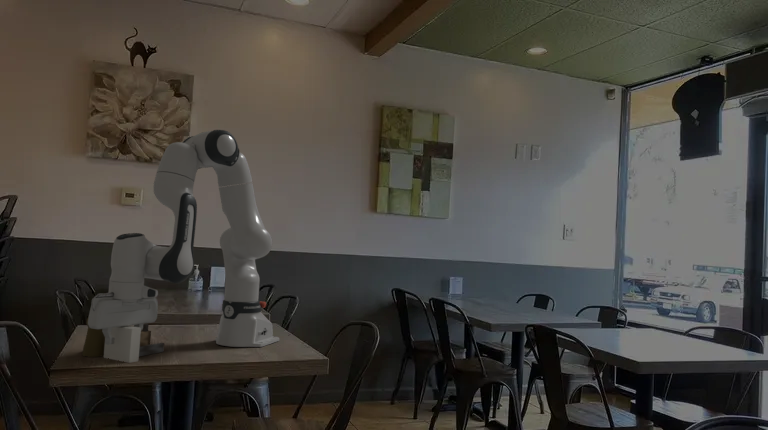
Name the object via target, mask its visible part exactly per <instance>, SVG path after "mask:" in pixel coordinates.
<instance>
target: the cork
mask: <svg viewBox="0 0 768 430" xmlns="http://www.w3.org/2000/svg"><path fill="white" fill-rule="evenodd" d="M88 318H89V316H88V317H87V318H86V322H85V323H86V326H87V331H86V335H85V340H84V345H83V350H82V354H81V355H82V357H85V356H88V357H87V358H98V357H104V346H105V336H104V334H103V332H102V329H92V328H90V327H89V326H88Z"/></svg>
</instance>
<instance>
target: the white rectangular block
mask: <svg viewBox="0 0 768 430" xmlns="http://www.w3.org/2000/svg"><path fill="white" fill-rule="evenodd" d="M110 333H111V336H112V337H114V338H115V340H114V344H110V345H107V344H105V346H104V356H103V359H108V358H109V360H113V361H118V360H119V362H123V361H124V363H128V364H129V363H134V362H136V363H137V362H139V360H140V358H139V357H140V356H139V347H140V334H141V328H139V327H134V326H133V325H129V326H121V327H113V328H112V332H110ZM105 339H106V337H105Z"/></svg>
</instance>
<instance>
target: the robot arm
mask: <svg viewBox="0 0 768 430" xmlns="http://www.w3.org/2000/svg"><path fill="white" fill-rule="evenodd" d="M204 168H205V169H206V168H212V169H213V170H214V171H215V174H216V176H217V184H218V185H217V186H218V191H219V198H220V204H221V208H222V212H223V214H224V215H225V217H226V219H227V221H228V223H229V226H230V227H229V228H227V229H226V230H224V231H223V233H222V234H221V236H220V237H219V238H220V239H219V246H220V249H221V250H222V251H221V252H222V255H223V265H224V271H225V273H224V274H225V282H224V284H225V285H224V298H223V300H222V304H221V306H222V307H221V308H222V309H221V310H222V314H221V316H220V318H219V319H220V320H219V324H218V325H219V326H218V331H217V336H216V337H215V339H214V340H215V343H216V344H217V345H220V346H223V347H224V346H225V347H231V348H232V347H234V348H247V347H248V348H250V347H251V348H253V347H254V348H256V347H257V348H262V347H265V346H268V345H270V344H273V343H277V342H279V341H280V337H278V336H274V333H273V332H274V330H273V327H274V326H273V323H272V322H271V321H270V320H269V319H268V318H267V317H266V316H265V315H264V314H263V313H262V308H263V309H264V308H266V307H267V302H266V301H260V300H259V298H260V297H259V294H260V282H261V281H260V279H261V278H260V275H259V273H258V271H257V265H256V264H257V263H256V260H259V259H261V258H264V257H266V256H267V255H268V254H269V253H270V251H271V250H272V247H273V239H272V235H271V233H270V232H269V231H268V230H267V229H266V227H265V224H264V222H263V219H262V217H261V214H260V212H259V209H258V208H259V207H258V206H257V200H256V195H255V189H254V184H253V183H254V182H253V178H252V173H251V169H250V165H249V163H248V160H247V158H246V156H245V154H243V153H242V152H241V151H240V148H239V145H238V142H237V139H236V138H235V137H234V135H233V134H232V133H231V132H230V131H227V130H225V129H214V130H207V131H204V132H201V133H199V134H196V135H192V136H190V137H187V138H186V139H184V140H183V141H182V142H181V141H179V142H178V141H176V142H172V143H170V144H169V145H167V147H166V148H165V151H164V152H163V154H162V156H161V159H160V161H159V164H158V167H157V170H156V174H155V177H154V181H153V194H154V197H155V198H156V199H157V200H158V201H159V202H160V203H161V204H162V205H164V207H166V208H168V209H170V210H171V211H172V212H173V216H174V224H173V225H174V226H173V232H172V234H173V235H172V242H171V244H170V245H169V246H161V245H157V244H155V243H153V242H152V241H150V240H149V239H148V238H146V236H145V234H143V233H140V232H133V233H132V232H131V233H122V234H120V235H118V236H116V238H115V239H114V242H113V243H112V244H113V245H112V250H111V257H110V267H111V274H110V276H109V281H108V292H106V293H104V292H103V293H102V292H101V293H97V294H96V295H95V296H94V297H93V298H92V299H91V305H90V309H89V313H88V317H89V318H88V317H87V318H88V326H89V327H90V328H92V329H102V332H103V334H104V336H105V337H106V339H105V344H107V345H110V344H114V340H115V338H114V337H112V336H111V333H110V332H112V328H113V327H121V326H133V327H139V328H141V330H142V329H143V324H151V323H152V324H153V323H155V322H156V320H157V319H158V311H159V310H158V307H159V306H158V305H159V303H158V299H157V297H158V295H159V291H158V289H155V288H152V287H149V286H147V285H145V279H152V280H157V281H164V282H169V283H173V284H181V283H182V282H183V283H184V281H186V280H187V279H188V278H189V277H190V276H191V274H193V273H192V272H193V271H194V267H195V257H194V255H195V254H194V245H195V235H196V227H197V226H196V223H197V215H198V214H197V213H198V211H197V210H198V204H197V203H198V202H197V199H196V198H195V197H194V186H195V181H196V175H197V172H198V170H199V169H204ZM88 326H87V327H88Z"/></svg>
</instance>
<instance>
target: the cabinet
mask: <svg viewBox="0 0 768 430" xmlns="http://www.w3.org/2000/svg"><path fill="white" fill-rule="evenodd" d="M149 324H150V323H145V324H143V329H142V330H141V334H140V347H139V357H143V356H147V355H153V354H158V353H159V354H160V353H164V349H165V343H163V342H158V343H152V344H151V339H152V337H151V336H152V330H149V326H150V325H149Z"/></svg>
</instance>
